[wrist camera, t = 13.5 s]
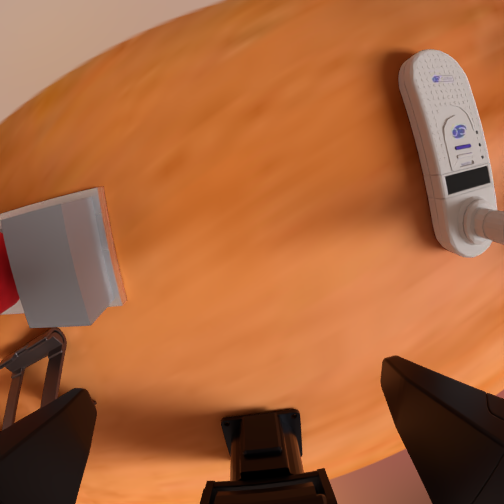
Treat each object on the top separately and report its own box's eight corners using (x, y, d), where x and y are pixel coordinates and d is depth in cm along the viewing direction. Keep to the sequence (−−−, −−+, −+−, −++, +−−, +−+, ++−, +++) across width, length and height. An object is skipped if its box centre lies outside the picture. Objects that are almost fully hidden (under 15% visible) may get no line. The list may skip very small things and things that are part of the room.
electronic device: (519, 17, 9) (567, 271, 12) (439, 58, 18) (481, 240, 21) (458, 5, 9) (519, 303, 12) (385, 61, 18) (433, 258, 22)
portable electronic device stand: (58, 322, 22) (1, 377, 14) (114, 396, 24) (81, 465, 16) (7, 354, 23) (-41, 401, 15) (57, 416, 24) (23, 472, 16)
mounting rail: (127, 299, 21) (122, 305, 20) (-41, 312, 21) (-47, 316, 20) (103, 186, 19) (97, 187, 18) (-62, 236, 19) (-68, 238, 18)
